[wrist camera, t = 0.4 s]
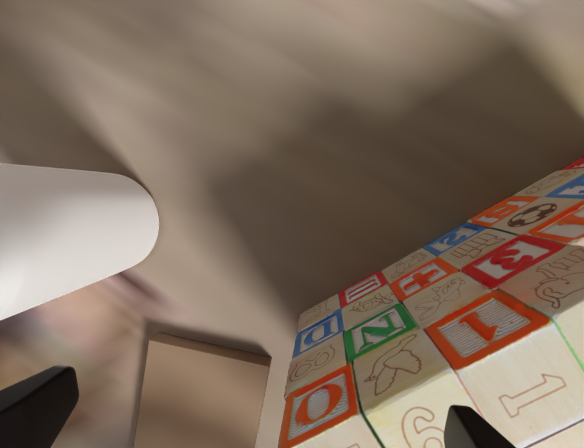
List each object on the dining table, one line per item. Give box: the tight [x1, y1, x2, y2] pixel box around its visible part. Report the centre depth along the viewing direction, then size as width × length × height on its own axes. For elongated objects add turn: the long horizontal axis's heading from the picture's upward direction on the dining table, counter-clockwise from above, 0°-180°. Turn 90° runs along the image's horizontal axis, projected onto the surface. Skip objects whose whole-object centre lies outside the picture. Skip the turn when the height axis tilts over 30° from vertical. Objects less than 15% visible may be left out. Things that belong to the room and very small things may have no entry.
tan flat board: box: [133, 333, 272, 448], centre depth 23 cm, size 12×8×1 cm, turn 169°
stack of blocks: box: [278, 157, 584, 448], centre depth 15 cm, size 21×6×12 cm, turn 122°
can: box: [0, 163, 159, 320], centre depth 17 cm, size 6×6×12 cm
